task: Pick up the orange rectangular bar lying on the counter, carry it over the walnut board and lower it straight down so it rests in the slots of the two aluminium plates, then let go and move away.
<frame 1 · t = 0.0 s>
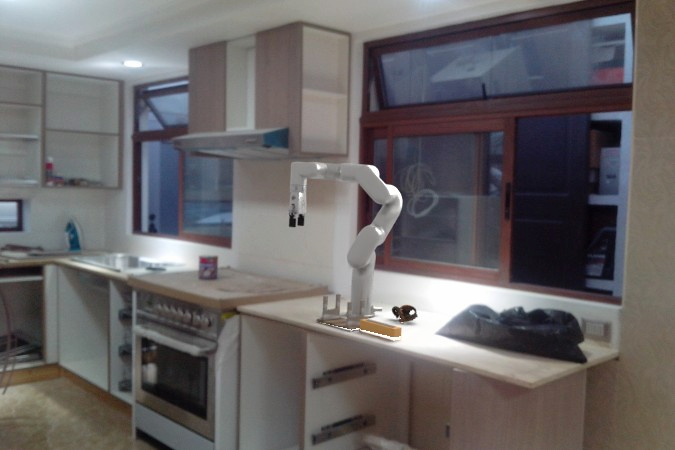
hand: (296, 226, 292), 37 cm above the countertop, tool pointing down, fingers open, 9 cm apart
cradle: (342, 324, 264), on the countertop
orange rectangular bar: (379, 336, 250), on the countertop
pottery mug: (403, 321, 277), on the countertop
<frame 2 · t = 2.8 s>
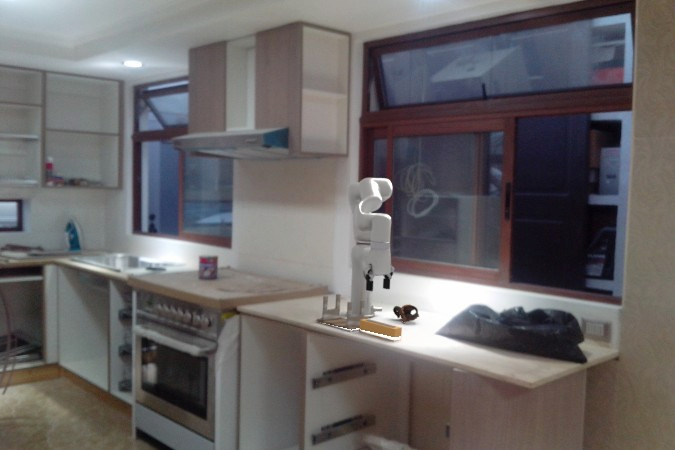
hand: (377, 289, 250), 18 cm above the countertop, tool pointing down, fingers open, 9 cm apart
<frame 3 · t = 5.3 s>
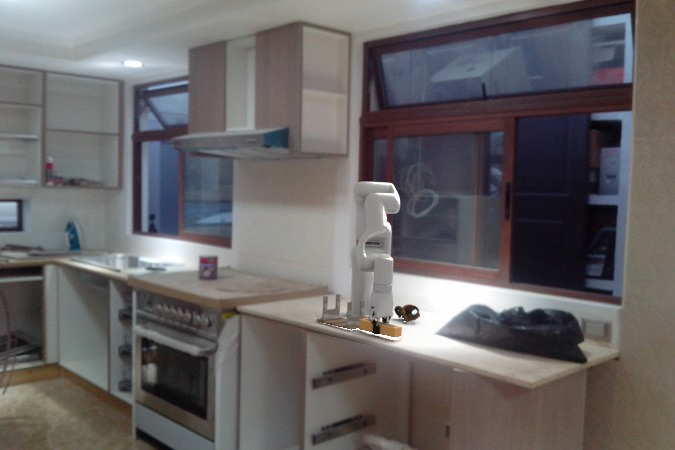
hand: (379, 333, 250), 1 cm above the countertop, tool pointing down, fingers closed on orange rectangular bar, 4 cm apart
orange rectangular bar: (379, 335, 250), on the countertop, touching gripper
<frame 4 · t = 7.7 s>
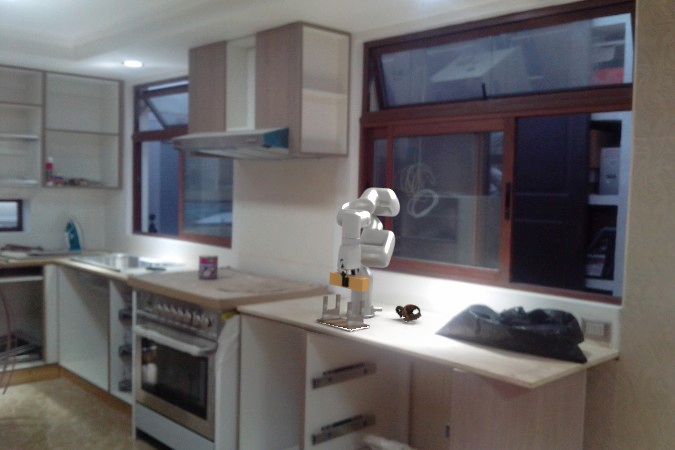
hand: (348, 285, 262), 17 cm above the countertop, tool pointing down, fingers closed on orange rectangular bar, 4 cm apart
orange rectangular bar: (348, 287, 262), point 16 cm above the countertop, touching gripper
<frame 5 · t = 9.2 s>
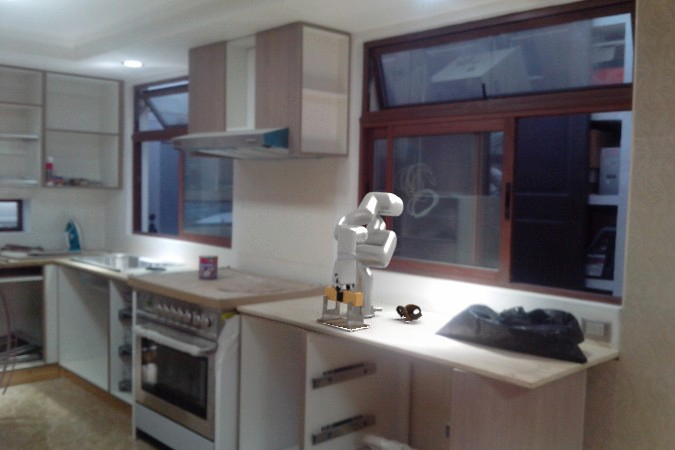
hand: (343, 300, 263), 10 cm above the countertop, tool pointing down, fingers closed on orange rectangular bar, 4 cm apart
orange rectangular bar: (343, 302, 263), point 10 cm above the countertop, touching gripper
when the fingers open (7 cm above the countertop, at t = 10.2 s): orange rectangular bar stays where it is, resting on cradle.
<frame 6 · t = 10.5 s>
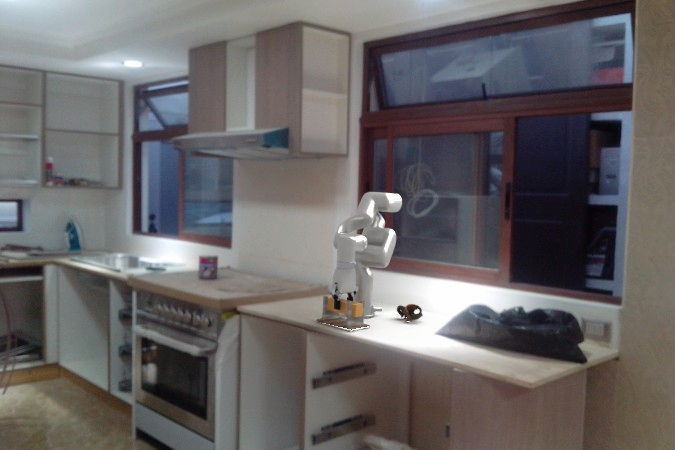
hand: (343, 308, 264), 7 cm above the countertop, tool pointing down, fingers open, 6 cm apart
orange rectangular bar: (343, 312, 264), point 5 cm above the countertop, touching cradle
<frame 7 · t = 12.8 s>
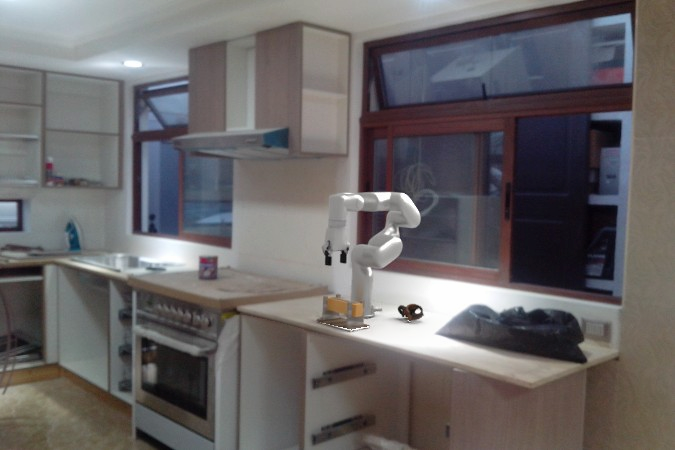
hand: (335, 264, 270), 24 cm above the countertop, tool pointing down, fingers open, 9 cm apart
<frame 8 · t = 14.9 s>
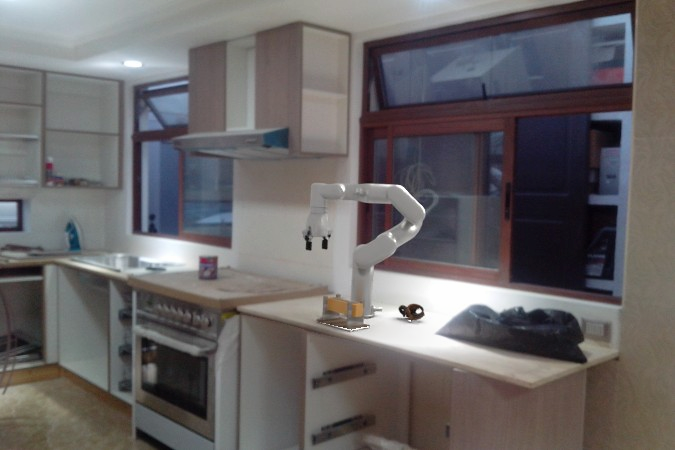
hand: (316, 249, 282), 28 cm above the countertop, tool pointing down, fingers open, 9 cm apart
at the end: orange rectangular bar 0.2 cm off-centre on the cradle, point 5.2 cm above the cradle's base; orange rectangular bar tilted 0°; the gripper is holding nothing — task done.
